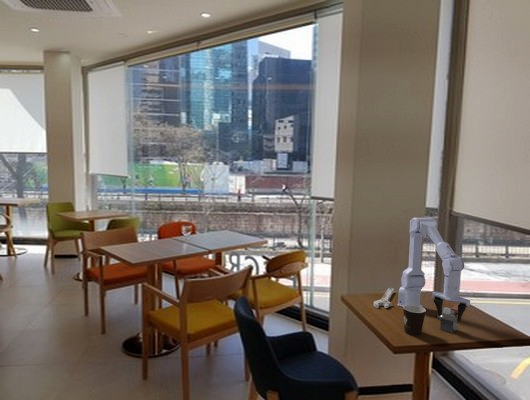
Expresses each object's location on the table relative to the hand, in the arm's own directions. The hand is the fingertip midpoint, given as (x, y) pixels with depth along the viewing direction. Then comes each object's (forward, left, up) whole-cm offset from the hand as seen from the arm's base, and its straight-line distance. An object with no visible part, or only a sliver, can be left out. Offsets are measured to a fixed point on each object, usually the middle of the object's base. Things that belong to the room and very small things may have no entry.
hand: (449, 318), depth 172 cm
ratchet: (-5, +19, -5) cm, 21 cm away
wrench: (-32, +17, -4) cm, 37 cm away
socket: (0, 0, -5) cm, 5 cm away
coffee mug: (-10, -12, -5) cm, 16 cm away
